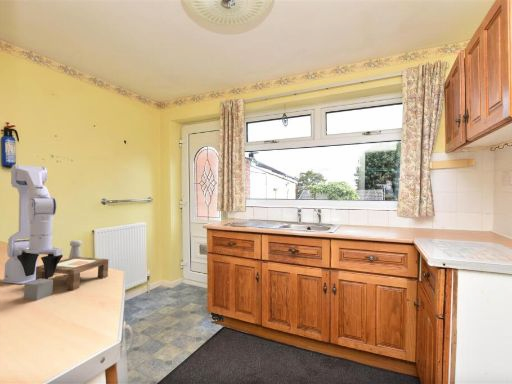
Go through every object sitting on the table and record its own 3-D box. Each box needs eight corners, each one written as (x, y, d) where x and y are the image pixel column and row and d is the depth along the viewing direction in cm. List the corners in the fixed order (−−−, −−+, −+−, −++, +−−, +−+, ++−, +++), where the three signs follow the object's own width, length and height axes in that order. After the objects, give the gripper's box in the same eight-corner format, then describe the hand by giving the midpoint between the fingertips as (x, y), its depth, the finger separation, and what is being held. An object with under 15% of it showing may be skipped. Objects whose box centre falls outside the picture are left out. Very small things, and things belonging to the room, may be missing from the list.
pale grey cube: (23, 299, 80) (24, 283, 80) (39, 293, 85) (40, 278, 85) (36, 300, 79) (37, 284, 79) (52, 294, 84) (53, 279, 84)
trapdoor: (51, 267, 93) (51, 264, 93) (74, 261, 103) (75, 258, 103) (74, 270, 91) (74, 267, 91) (96, 263, 101) (96, 260, 101)
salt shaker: (74, 272, 107) (75, 241, 108) (63, 271, 109) (64, 240, 109) (85, 268, 113) (87, 239, 113) (75, 267, 114) (76, 238, 114)
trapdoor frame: (35, 286, 90) (36, 266, 91) (74, 273, 106) (75, 256, 106) (73, 290, 88) (74, 270, 88) (107, 276, 103) (108, 259, 104)
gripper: (9, 235, 79) (7, 278, 79) (47, 237, 77) (45, 282, 77) (32, 232, 86) (30, 271, 86) (68, 234, 84) (66, 275, 84)
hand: (39, 276), depth 82 cm, fingers open, 7 cm apart
